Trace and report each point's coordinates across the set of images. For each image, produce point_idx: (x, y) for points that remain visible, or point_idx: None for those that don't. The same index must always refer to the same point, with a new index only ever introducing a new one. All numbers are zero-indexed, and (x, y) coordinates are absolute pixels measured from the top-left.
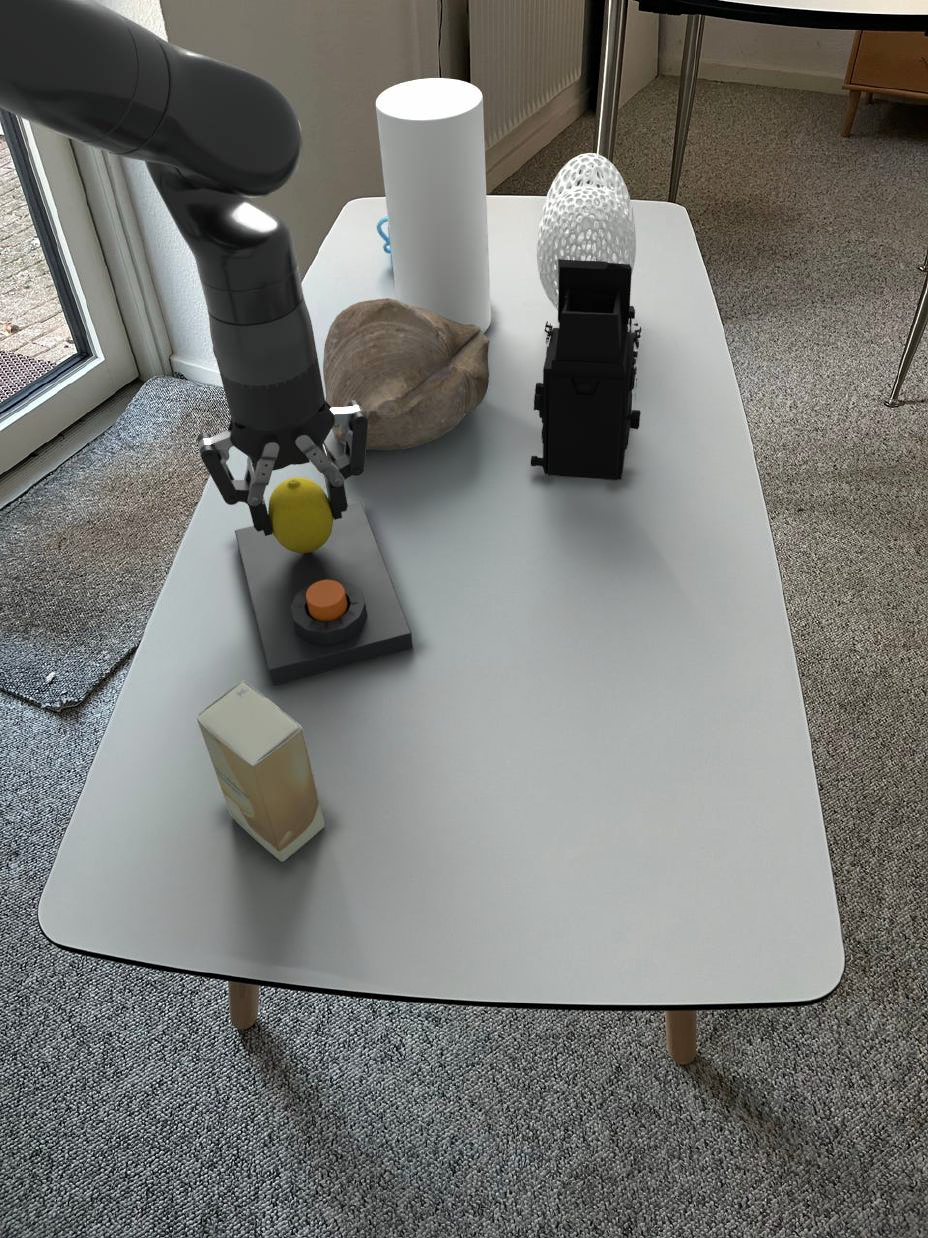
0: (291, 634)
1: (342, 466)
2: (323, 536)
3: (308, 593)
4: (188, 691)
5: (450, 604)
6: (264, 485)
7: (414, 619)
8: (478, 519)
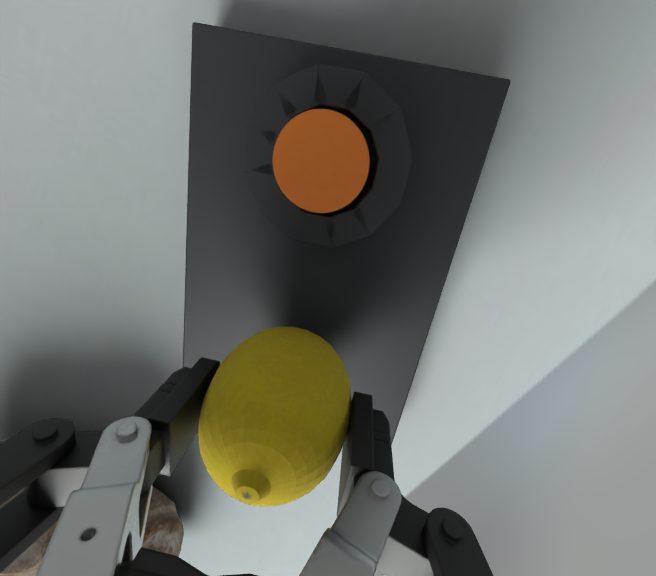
0: (418, 161)
1: (80, 471)
2: (258, 334)
3: (356, 185)
4: (635, 166)
5: (119, 120)
6: (337, 530)
7: (189, 118)
8: (34, 284)
